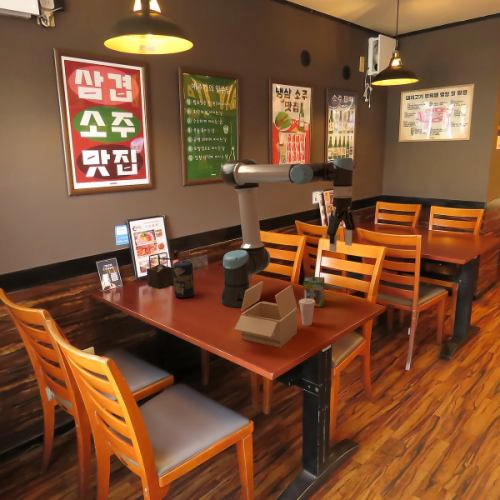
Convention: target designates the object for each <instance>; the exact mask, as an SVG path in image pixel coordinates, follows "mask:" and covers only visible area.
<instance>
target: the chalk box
mask: <svg viewBox="0 0 500 500" xmlns="http://www.w3.org/2000/svg"><path fill="white" fill-rule="evenodd" d="M305 290H306V298H308V299H313V300H315V305H314V308H315V307H317V308H319V307H320V308H324V307H325V277H324V276H315V274H314V271H313V270H312V271H311V276H304V280H303V299H305Z"/></svg>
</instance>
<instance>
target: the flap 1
mask: <svg viewBox="0 0 500 500" xmlns="http://www.w3.org/2000/svg"><path fill="white" fill-rule="evenodd" d="M263 286H264V280H262V281H260V282H258V283H257V284H255V285H252V286H250V288H249V289H248V290H246V291H245V294H244V299H243V304H242V307H240V311H241V312H244V311H246V310H247V309H249V308H250V307H251V306H252V305H255V304H256V303H257V302H258V301H259V302H260V298H261V294H262V290H263Z"/></svg>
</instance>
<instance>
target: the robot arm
mask: <svg viewBox="0 0 500 500" xmlns="http://www.w3.org/2000/svg"><path fill="white" fill-rule="evenodd" d="M219 173H220V174H219V175H220V179H221V180H222V182H223V183H224V184H225V185H227V186H231V187H233V188H234V190H233V191H235V192H236V193H237V196H238V207H239V214H240V215H239V216H240V223H241V224H240V226H241V233H242V244H241V246H240V249H236V250H231V251H228V252H227V253H225V254H224V256H223V257H222V259H223V260H222V261H223V262H222V266H223V267H222V268H223V282H224V283H223V284H224V285H223V290H222V293H221V296H220V299H221V301H220V302H221V304H222V305H223V306H225V307H230V308H242V304H243V299H244V294H245V291H246V290H248V289H249V288H251V286H250V276H254V275H256V274H258V273H261V272H263V271H264V270H266V269H267V268H268V267H269V265H270V263H271V255H270V252H269V251H268V249H267V248H266V247H265V246H266V245H265V243H264V242H262V239H261V229H260V218H259V216H260V215H259V207H258V206H259V205H258V198H257V197H258V195H257V191H258V189H259V188H260V184H296V185H306V184H311V183H317V182H332V184H333V185H332V186H333V187H332V196H333V198H332V206H333V207H334V208H335V210H332V209H331V211H330V218H329V222H328V225H327V231H326V236H329V249H328V250H329V252H333V253H336V252H337V241H338V240H337V239H338V238H337V237H338V236H337V232H338V230H339V227H340V224H341V223H342V222H343V223H344V226H345V228H346V229H345V235H344V236H345V237H344V238H345V239H344V245H345V246H352V245H353V231H355V229H356V225H355V224H356V223H355V219H354V214H353V207H352V204H353V199H352V196H353V192H354V191H353V190H354V189H353V177H354V176H353V174H354V161H353V158H352V157H334V159H333V162H318V161H317V162H309V163H286V164H285V163H284V164H283V163H282V164H281V163H279V164H276V163H275V164H273V163H272V164H270V163H269V164H267V163H266V164H260V163H259V162H258V161H256V160H255V159H250V158H245V159H231V160H227V161H226V162H224V163H223V164H222V166H221V168H220V171H219Z"/></svg>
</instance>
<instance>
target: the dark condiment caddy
mask: <svg viewBox="0 0 500 500" xmlns="http://www.w3.org/2000/svg"><path fill="white" fill-rule="evenodd" d="M179 255H180V251H179V250H173V251H172V257H171V258H170V257H161V255H160V254H157V261H158V264H156V265H154V266H152V267H149V268H146V278H147V286H148V285H149V286H148V287H151V286H152V288H155V289H157V288H158V289H157V290H161V289H164V288H167V287H171V286H174V275H173V266H168V265H165V264H162V263H161V260H162V261H163V260H166V261H167V260H168V261H173V260H174V261H175V260H178V259H179V258H178V257H179Z"/></svg>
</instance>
